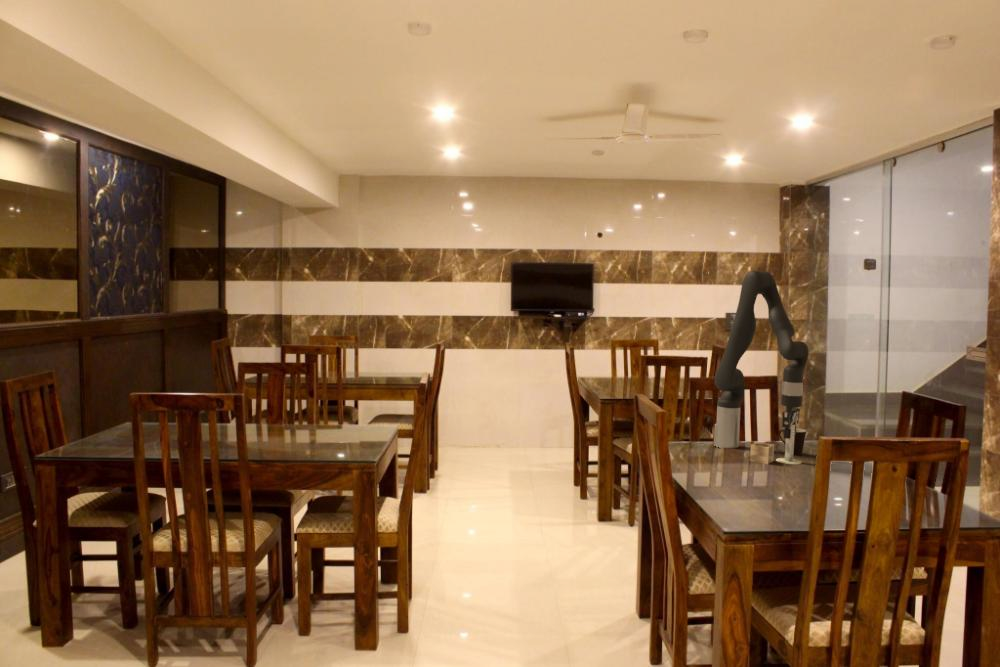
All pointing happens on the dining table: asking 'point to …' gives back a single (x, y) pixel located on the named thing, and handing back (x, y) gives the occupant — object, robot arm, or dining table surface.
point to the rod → (790, 445)
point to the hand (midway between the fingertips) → (789, 436)
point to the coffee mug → (796, 441)
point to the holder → (761, 453)
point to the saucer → (782, 460)
